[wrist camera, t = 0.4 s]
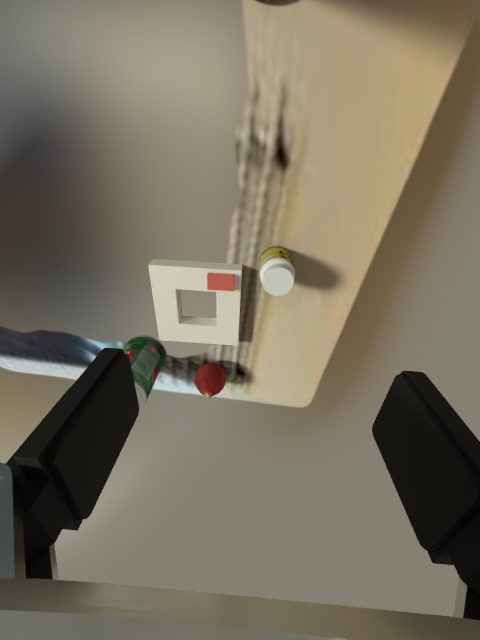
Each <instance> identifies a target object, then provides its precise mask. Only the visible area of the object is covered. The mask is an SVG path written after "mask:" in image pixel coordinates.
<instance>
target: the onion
mask: <svg viewBox="0 0 480 640" xmlns="http://www.w3.org/2000/svg"><path fill="white" fill-rule="evenodd" d="M225 382H226V375H225V372H224V371H223V369H222V368H221V367H220V366H219V365H217V364H215V363H207V364H204V365H202V366H201V367H200V368H199V369H198V370H197V372H196V375H195V385H196V387H197V388H198V390H199V391H200V393H202V394H203V395H205V396H206V397H207V398H210V397H211V396H214V395H216V394H218V393H219V392H220V391H221V390H222V389H223V388H224V385H225Z"/></svg>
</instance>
